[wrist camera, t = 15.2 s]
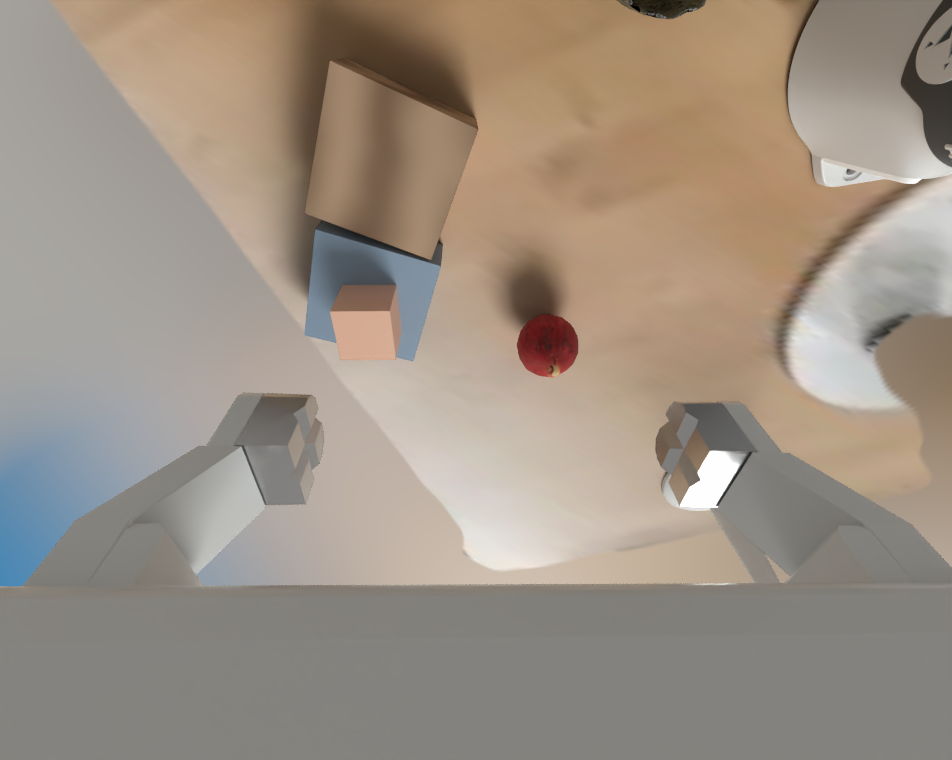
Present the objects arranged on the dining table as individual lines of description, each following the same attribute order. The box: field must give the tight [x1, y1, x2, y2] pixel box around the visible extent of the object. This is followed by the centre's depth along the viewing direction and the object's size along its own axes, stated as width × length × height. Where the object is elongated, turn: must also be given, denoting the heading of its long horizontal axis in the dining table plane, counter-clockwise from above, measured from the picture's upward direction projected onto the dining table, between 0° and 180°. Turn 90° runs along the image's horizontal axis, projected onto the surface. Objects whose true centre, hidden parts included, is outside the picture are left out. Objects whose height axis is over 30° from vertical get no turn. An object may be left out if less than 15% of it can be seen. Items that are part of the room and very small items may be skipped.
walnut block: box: [305, 58, 478, 260], centre depth 33 cm, size 10×10×5 cm
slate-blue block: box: [305, 220, 443, 361], centre depth 39 cm, size 10×10×5 cm
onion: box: [517, 314, 578, 377], centre depth 42 cm, size 6×6×8 cm
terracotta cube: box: [330, 285, 402, 360], centre depth 36 cm, size 4×4×4 cm
